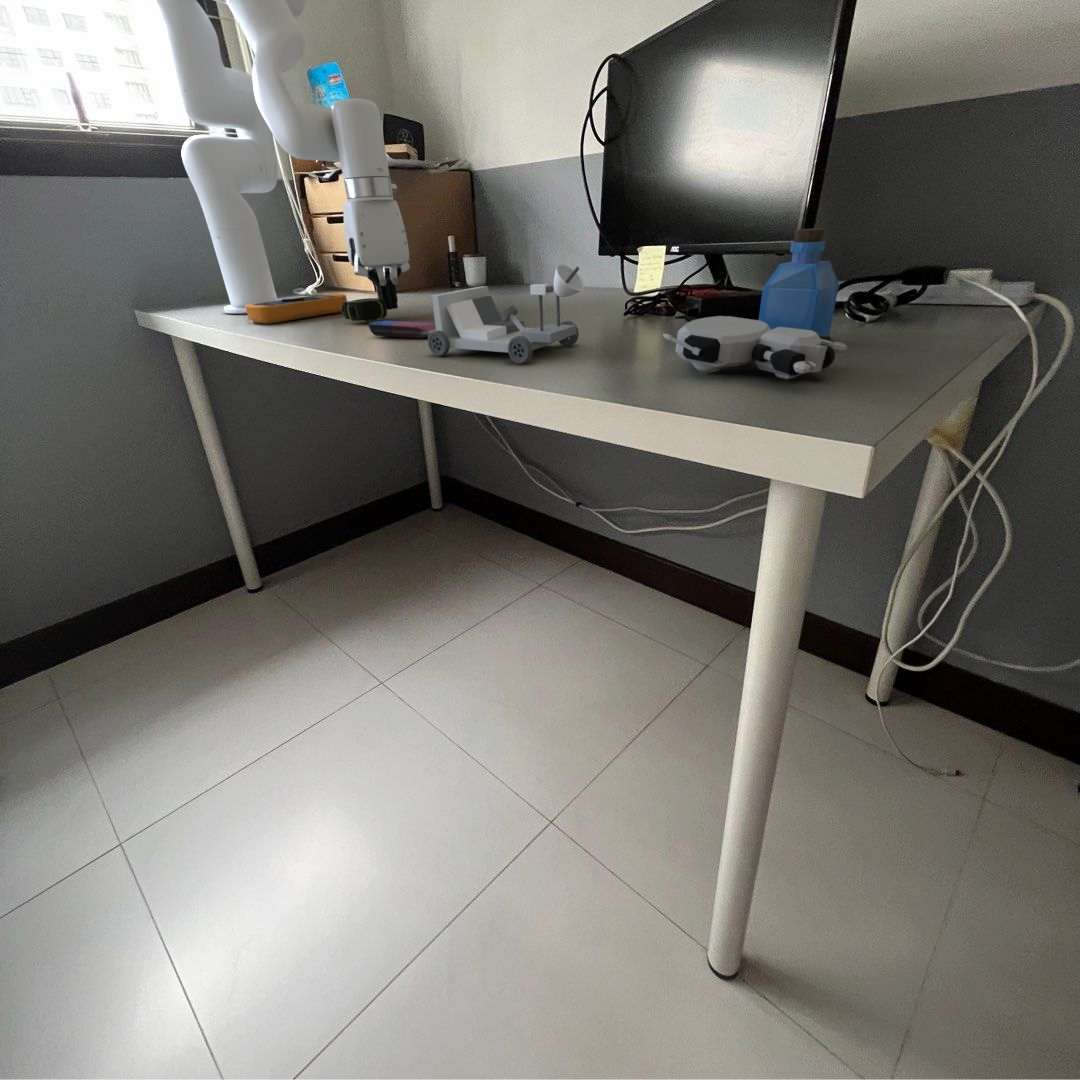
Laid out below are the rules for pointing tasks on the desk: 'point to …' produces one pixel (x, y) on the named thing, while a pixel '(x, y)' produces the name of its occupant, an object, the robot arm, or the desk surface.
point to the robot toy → (753, 346)
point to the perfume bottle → (802, 288)
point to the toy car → (500, 320)
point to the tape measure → (365, 309)
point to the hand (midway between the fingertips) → (389, 308)
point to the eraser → (402, 329)
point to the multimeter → (295, 308)
